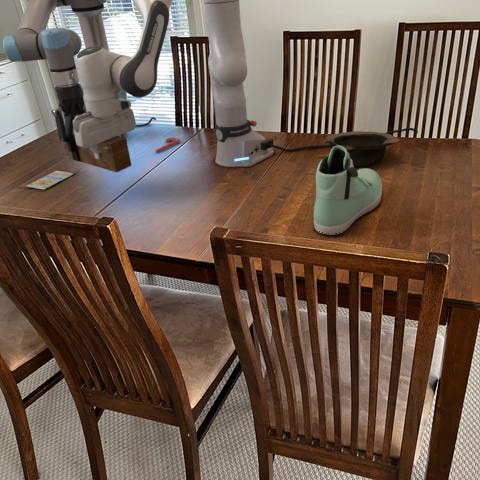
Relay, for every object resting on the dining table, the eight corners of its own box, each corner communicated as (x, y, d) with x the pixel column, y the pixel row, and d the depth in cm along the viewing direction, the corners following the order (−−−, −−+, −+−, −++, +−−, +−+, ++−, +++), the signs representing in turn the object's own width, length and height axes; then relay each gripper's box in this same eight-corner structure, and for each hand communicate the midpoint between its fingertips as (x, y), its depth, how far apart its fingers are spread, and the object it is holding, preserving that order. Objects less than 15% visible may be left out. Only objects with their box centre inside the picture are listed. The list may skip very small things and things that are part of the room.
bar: (69, 158, 157) (62, 132, 152) (84, 152, 161) (78, 126, 156) (116, 172, 144) (110, 143, 139) (131, 165, 148) (126, 137, 143)
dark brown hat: (355, 177, 156) (355, 149, 151) (311, 159, 176) (310, 134, 172) (413, 158, 165) (414, 132, 160) (364, 143, 185) (364, 119, 180)
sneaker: (389, 187, 148) (396, 123, 138) (356, 242, 123) (361, 168, 112) (346, 181, 154) (350, 119, 144) (306, 232, 129) (307, 161, 118)
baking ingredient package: (25, 185, 168) (56, 169, 179) (25, 186, 168) (56, 171, 180) (43, 188, 164) (74, 172, 176) (44, 190, 165) (74, 173, 176)
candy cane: (146, 151, 191) (146, 147, 190) (171, 139, 201) (171, 135, 200) (157, 153, 188) (157, 150, 187) (182, 141, 198) (182, 137, 197)
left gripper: (47, 93, 136) (67, 169, 148) (100, 78, 148) (115, 149, 160) (32, 91, 140) (53, 164, 152) (85, 76, 152) (101, 145, 164)
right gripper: (78, 118, 130) (89, 166, 137) (134, 99, 144) (142, 144, 151) (64, 115, 134) (76, 162, 141) (120, 97, 147) (129, 140, 154)
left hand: (85, 156), depth 156 cm, fingers closed on bar, 6 cm apart
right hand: (111, 152), depth 146 cm, fingers open, 8 cm apart
